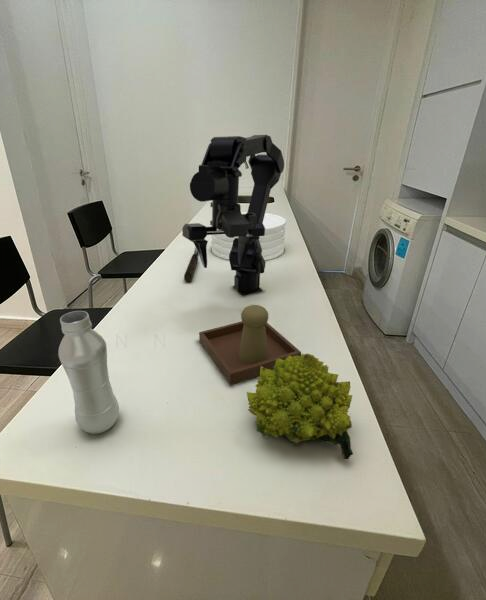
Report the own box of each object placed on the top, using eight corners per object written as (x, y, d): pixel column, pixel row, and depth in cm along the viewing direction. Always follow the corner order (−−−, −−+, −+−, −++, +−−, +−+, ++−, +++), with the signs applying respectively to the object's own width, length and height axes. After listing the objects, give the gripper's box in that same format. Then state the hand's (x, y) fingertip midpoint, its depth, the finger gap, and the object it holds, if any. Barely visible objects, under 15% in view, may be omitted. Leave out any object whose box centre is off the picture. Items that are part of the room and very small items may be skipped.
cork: (273, 360, 66) (277, 312, 61) (246, 367, 64) (247, 318, 59) (259, 344, 71) (261, 298, 66) (233, 350, 69) (233, 304, 64)
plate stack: (199, 246, 135) (198, 218, 130) (253, 235, 147) (254, 209, 142) (239, 267, 113) (239, 234, 108) (299, 251, 126) (302, 221, 120)
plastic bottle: (84, 410, 57) (56, 307, 47) (124, 406, 57) (104, 304, 48) (73, 441, 51) (39, 331, 42) (118, 437, 51) (94, 327, 42)
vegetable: (390, 453, 43) (335, 361, 40) (283, 493, 47) (227, 411, 45) (357, 391, 57) (315, 320, 54) (277, 426, 61) (234, 361, 59)
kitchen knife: (183, 267, 101) (184, 282, 103) (190, 267, 101) (191, 282, 103) (197, 235, 133) (198, 247, 135) (202, 235, 132) (203, 247, 135)
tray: (259, 325, 79) (260, 316, 78) (300, 362, 66) (301, 352, 65) (199, 341, 74) (198, 332, 73) (230, 385, 61) (230, 374, 60)
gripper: (197, 202, 64) (197, 279, 70) (280, 201, 70) (274, 271, 76) (181, 198, 74) (182, 266, 79) (255, 197, 80) (251, 260, 85)
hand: (223, 266), depth 80 cm, fingers open, 9 cm apart
